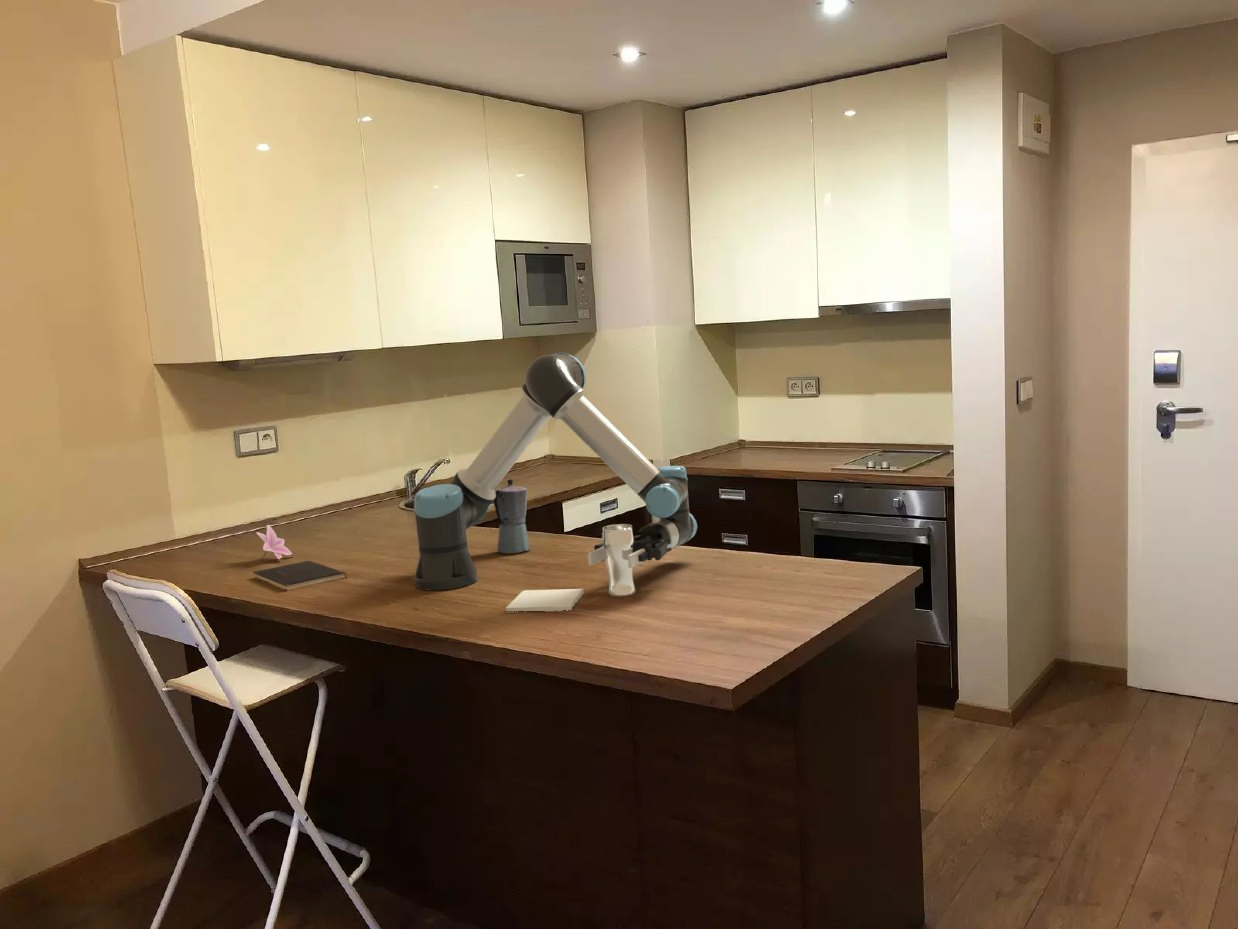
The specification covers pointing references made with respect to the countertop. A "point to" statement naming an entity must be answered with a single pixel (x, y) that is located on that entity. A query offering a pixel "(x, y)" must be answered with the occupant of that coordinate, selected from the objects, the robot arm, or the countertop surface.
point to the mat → (545, 600)
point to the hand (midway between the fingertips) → (609, 560)
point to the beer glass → (619, 558)
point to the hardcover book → (299, 574)
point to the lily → (274, 543)
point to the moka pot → (511, 518)
